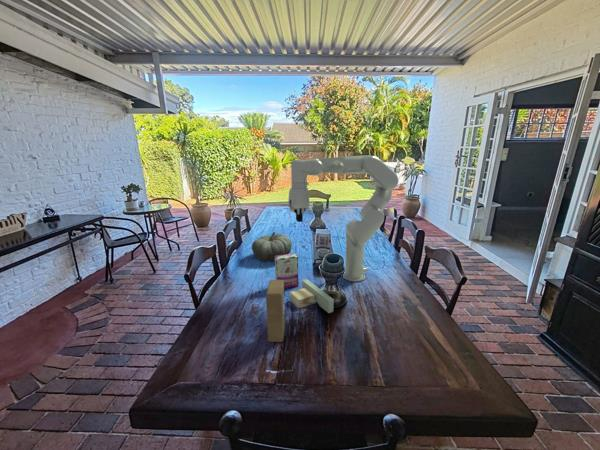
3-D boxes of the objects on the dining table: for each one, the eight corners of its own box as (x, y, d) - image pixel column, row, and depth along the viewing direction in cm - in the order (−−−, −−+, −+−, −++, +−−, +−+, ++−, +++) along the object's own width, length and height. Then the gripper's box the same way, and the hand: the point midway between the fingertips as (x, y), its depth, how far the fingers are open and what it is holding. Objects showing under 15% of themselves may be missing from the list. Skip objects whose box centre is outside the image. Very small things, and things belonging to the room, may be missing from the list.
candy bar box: (296, 281, 147) (295, 252, 143) (298, 286, 143) (298, 256, 138) (275, 284, 145) (274, 255, 140) (277, 289, 140) (276, 259, 135)
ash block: (306, 295, 134) (306, 287, 133) (315, 303, 128) (315, 294, 127) (290, 300, 130) (290, 292, 129) (298, 309, 124) (298, 300, 122)
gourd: (299, 258, 171) (293, 231, 167) (260, 271, 163) (253, 243, 159) (286, 248, 194) (281, 224, 190) (252, 259, 186) (245, 235, 182)
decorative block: (271, 323, 113) (269, 279, 108) (285, 324, 113) (284, 279, 107) (267, 342, 103) (265, 294, 97) (282, 342, 102) (281, 294, 97)
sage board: (306, 289, 139) (306, 278, 138) (333, 311, 121) (333, 299, 119) (302, 291, 138) (302, 280, 136) (328, 313, 120) (329, 301, 118)
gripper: (307, 183, 144) (307, 217, 149) (282, 185, 137) (283, 221, 142) (315, 185, 138) (315, 220, 143) (289, 187, 131) (290, 225, 136)
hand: (299, 221), depth 143 cm, fingers closed
